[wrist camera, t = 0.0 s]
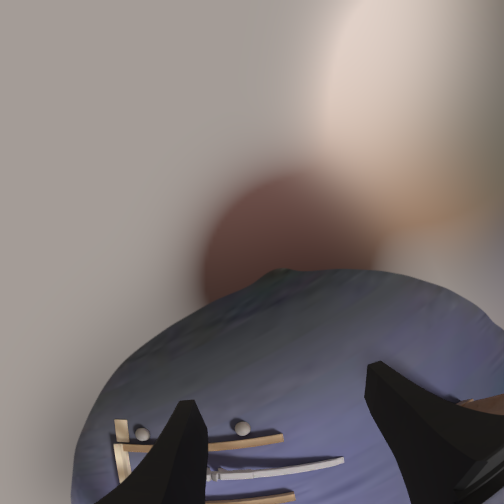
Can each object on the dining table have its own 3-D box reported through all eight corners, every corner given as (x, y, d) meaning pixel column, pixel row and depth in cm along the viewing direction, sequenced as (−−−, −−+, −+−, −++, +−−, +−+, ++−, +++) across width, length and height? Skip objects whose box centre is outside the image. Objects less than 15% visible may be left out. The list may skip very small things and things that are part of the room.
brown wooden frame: (452, 461, 28) (522, 465, 13) (446, 407, 34) (517, 392, 18) (468, 452, 28) (537, 451, 13) (462, 400, 34) (532, 380, 18)
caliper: (207, 473, 33) (196, 481, 27) (206, 466, 33) (196, 474, 28) (343, 462, 32) (354, 469, 27) (343, 455, 33) (353, 462, 27)
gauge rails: (299, 519, 27) (300, 524, 25) (133, 522, 27) (127, 526, 24) (277, 407, 38) (277, 406, 36) (114, 419, 37) (107, 419, 35)
